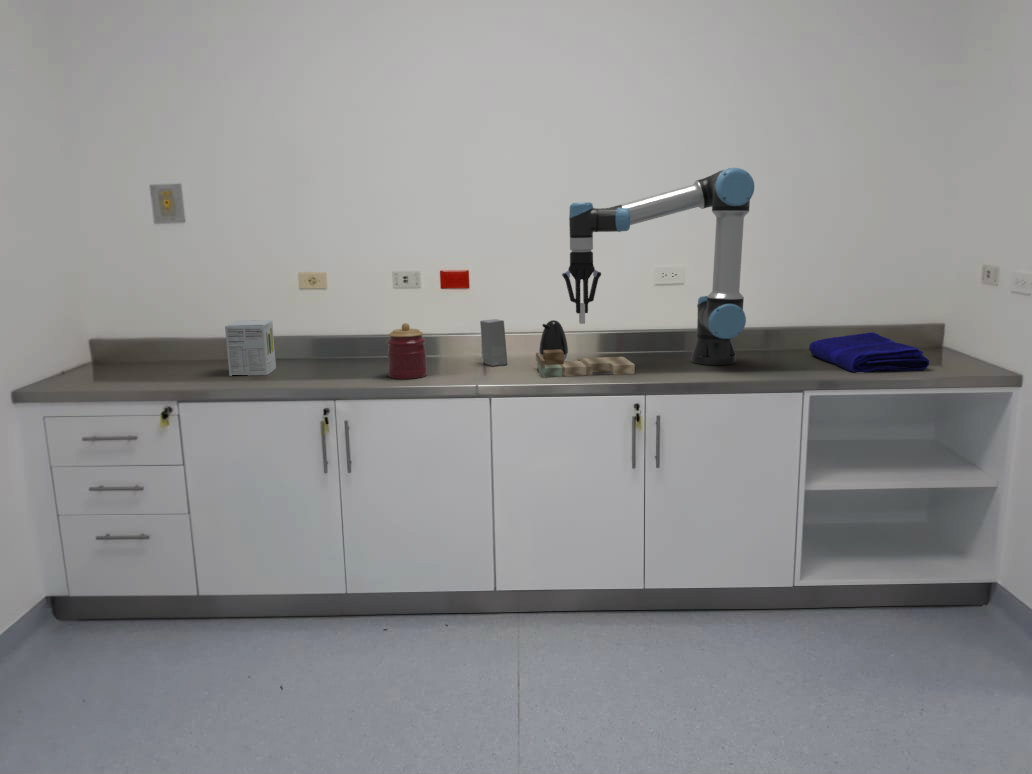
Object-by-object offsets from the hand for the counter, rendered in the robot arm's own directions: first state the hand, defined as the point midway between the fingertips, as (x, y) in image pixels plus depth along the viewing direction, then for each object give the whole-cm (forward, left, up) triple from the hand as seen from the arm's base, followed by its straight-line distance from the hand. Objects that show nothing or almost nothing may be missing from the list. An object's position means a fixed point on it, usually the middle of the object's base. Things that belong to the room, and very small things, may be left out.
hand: (582, 323), depth 272 cm
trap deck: (-1, 0, -16) cm, 16 cm away
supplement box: (+112, -22, -16) cm, 115 cm away
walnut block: (+10, -1, -13) cm, 16 cm away
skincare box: (+28, -20, -16) cm, 38 cm away
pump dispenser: (+7, -18, -16) cm, 25 cm away
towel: (-97, +4, -17) cm, 98 cm away
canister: (+58, -4, -16) cm, 61 cm away
